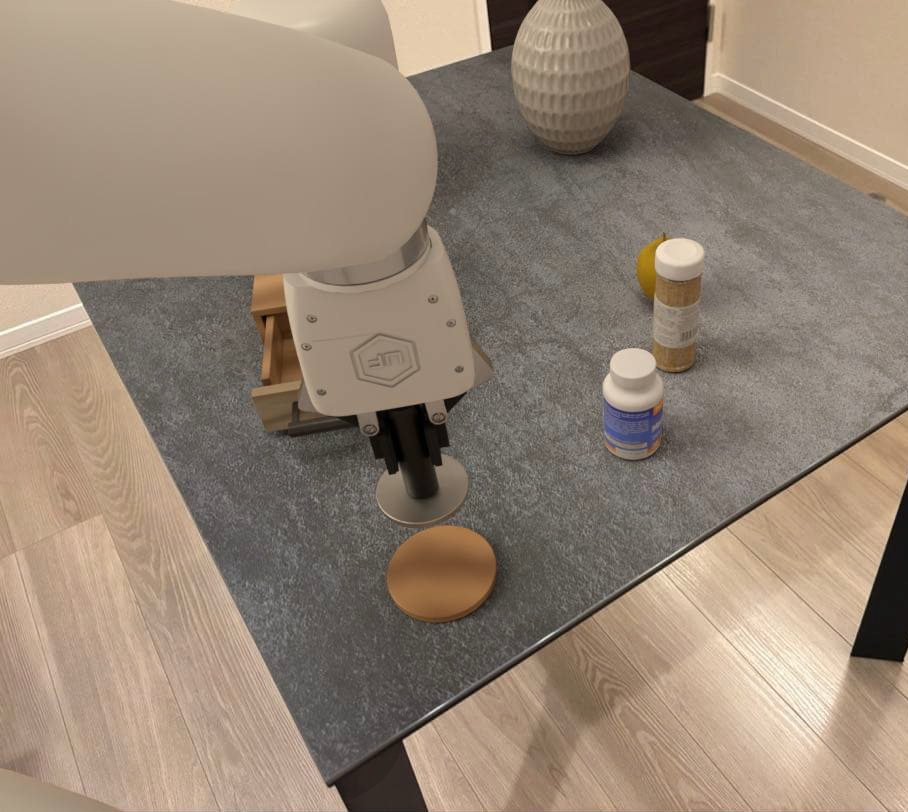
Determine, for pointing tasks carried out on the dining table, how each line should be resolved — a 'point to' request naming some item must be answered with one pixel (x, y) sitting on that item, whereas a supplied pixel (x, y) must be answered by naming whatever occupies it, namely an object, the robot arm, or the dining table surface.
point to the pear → (649, 267)
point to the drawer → (286, 386)
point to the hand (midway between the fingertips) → (414, 454)
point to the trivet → (442, 573)
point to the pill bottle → (633, 405)
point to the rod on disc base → (419, 476)
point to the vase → (570, 73)
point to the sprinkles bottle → (677, 303)
